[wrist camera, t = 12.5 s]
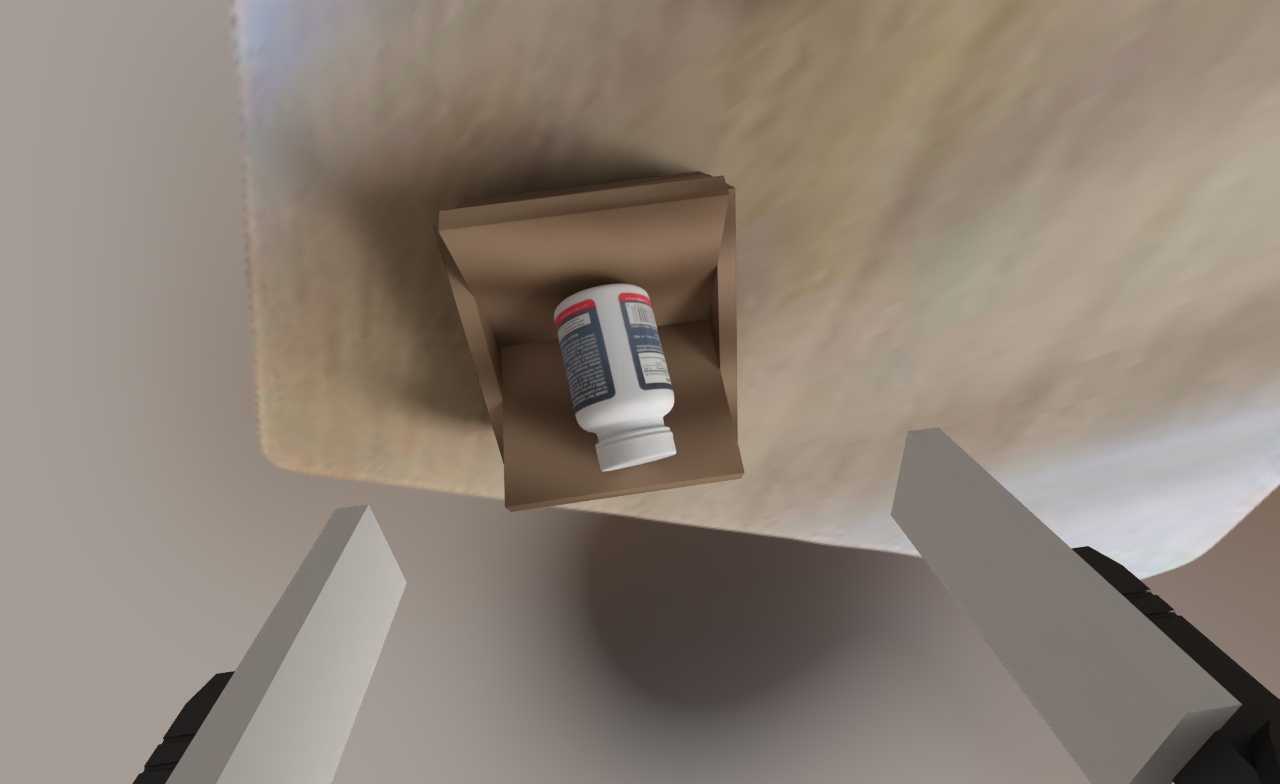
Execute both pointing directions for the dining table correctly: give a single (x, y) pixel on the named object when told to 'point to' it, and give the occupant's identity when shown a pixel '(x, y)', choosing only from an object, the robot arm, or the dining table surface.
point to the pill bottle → (617, 373)
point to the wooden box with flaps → (578, 260)
